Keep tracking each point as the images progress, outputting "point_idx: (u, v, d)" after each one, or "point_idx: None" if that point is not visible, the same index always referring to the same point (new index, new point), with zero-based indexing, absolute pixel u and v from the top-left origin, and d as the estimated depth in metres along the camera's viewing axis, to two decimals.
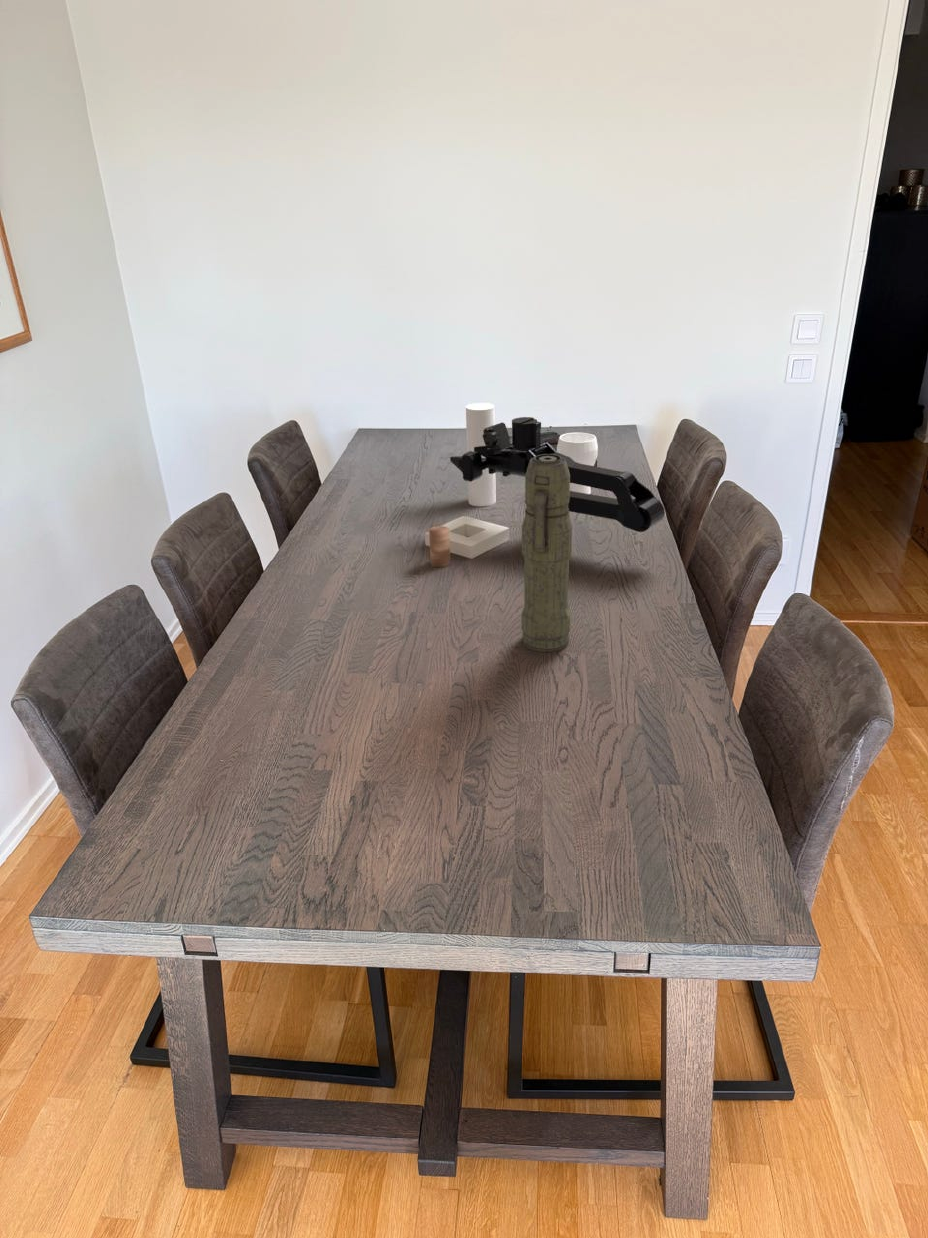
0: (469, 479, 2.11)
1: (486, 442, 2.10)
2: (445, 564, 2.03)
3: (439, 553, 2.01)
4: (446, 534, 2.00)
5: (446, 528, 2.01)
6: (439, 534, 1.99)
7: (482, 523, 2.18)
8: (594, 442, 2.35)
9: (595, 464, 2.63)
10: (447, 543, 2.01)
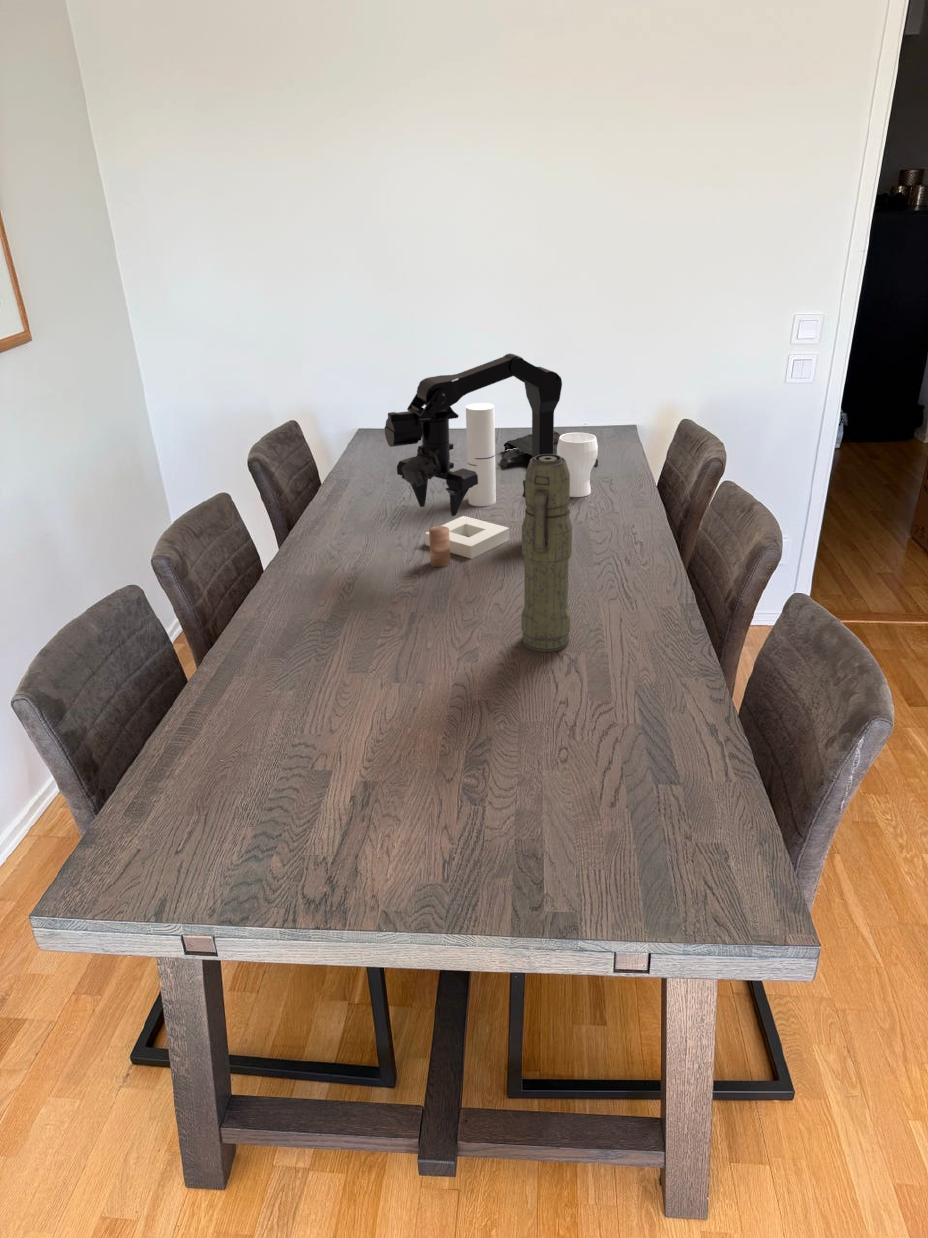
0: (477, 475, 1.91)
1: (434, 472, 1.88)
2: (445, 564, 2.03)
3: (439, 553, 2.01)
4: (446, 534, 2.00)
5: (446, 528, 2.01)
6: (439, 534, 1.99)
7: (482, 523, 2.18)
8: (594, 442, 2.35)
9: (596, 464, 2.63)
10: (447, 543, 2.01)
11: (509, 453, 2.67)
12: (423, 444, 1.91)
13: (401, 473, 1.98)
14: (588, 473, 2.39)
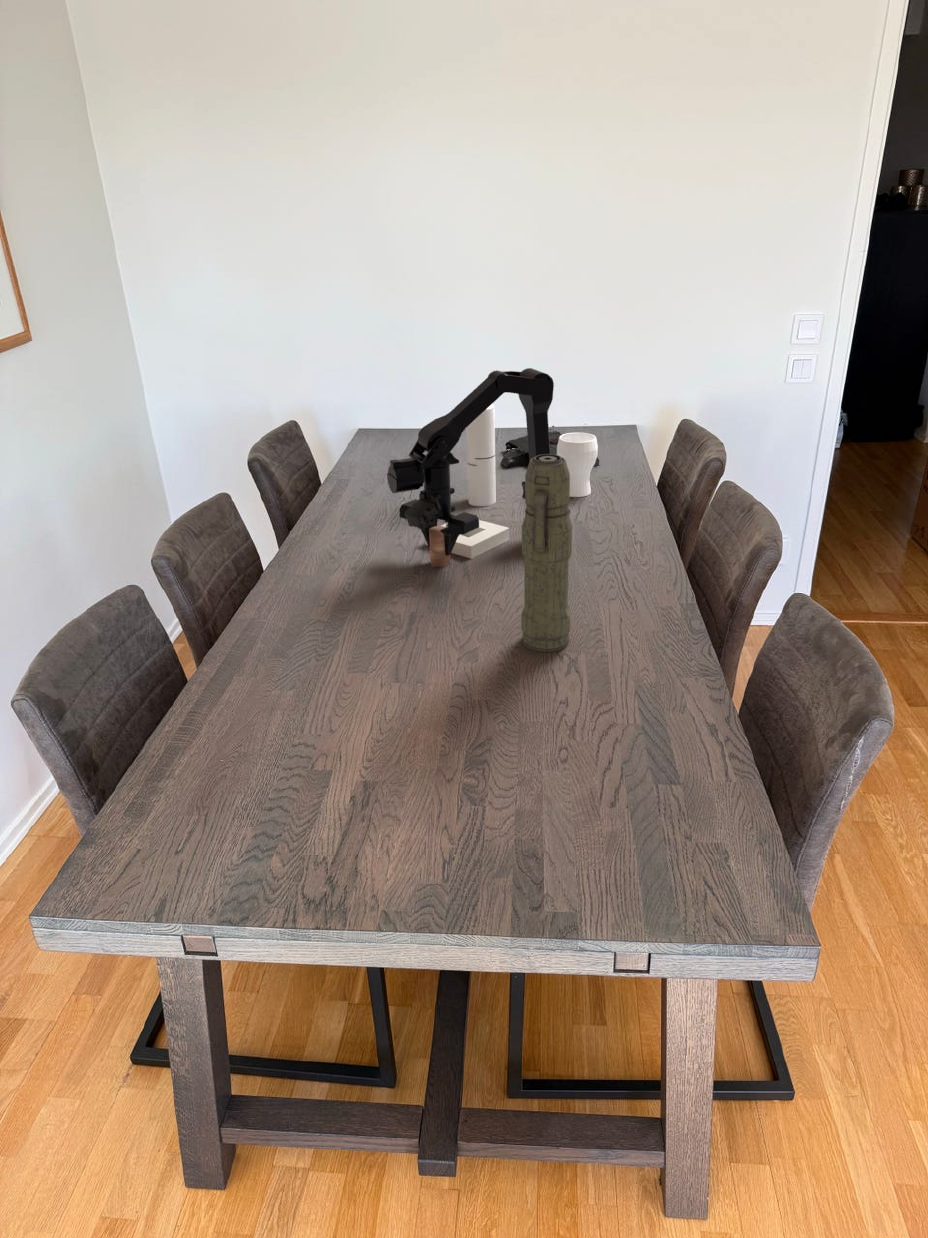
0: (478, 519, 1.96)
1: (436, 517, 1.93)
2: (445, 564, 2.03)
3: (439, 553, 2.01)
4: None
5: None
6: (439, 534, 1.99)
7: (482, 523, 2.18)
8: (594, 442, 2.35)
9: (597, 464, 2.63)
10: None
11: (510, 452, 2.68)
12: (425, 489, 1.95)
13: (403, 516, 2.02)
14: (588, 473, 2.39)
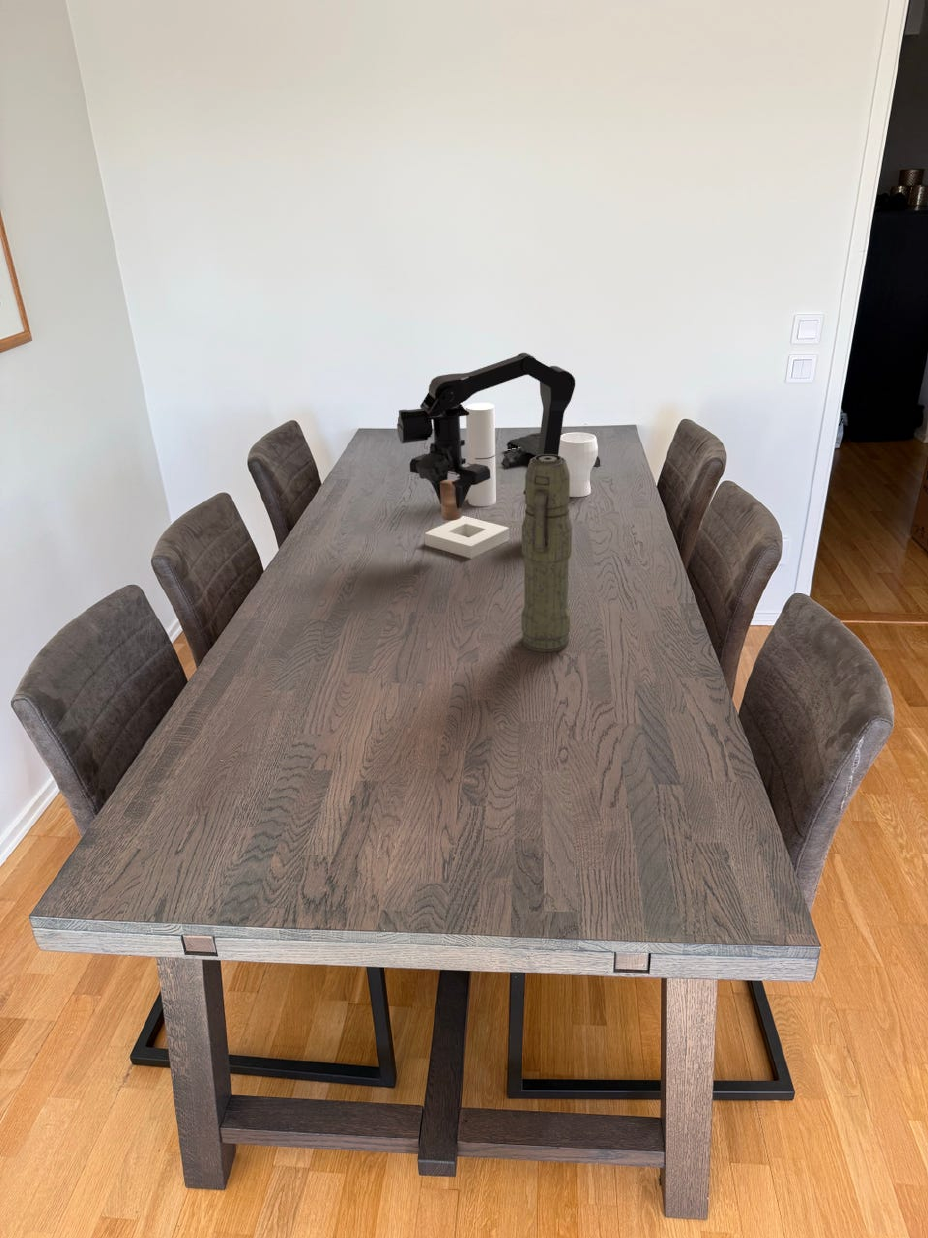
0: (489, 470, 1.96)
1: (448, 468, 1.93)
2: (456, 517, 2.03)
3: (450, 506, 2.01)
4: None
5: None
6: (450, 486, 1.99)
7: (482, 523, 2.18)
8: (594, 442, 2.35)
9: (598, 463, 2.63)
10: None
11: (511, 452, 2.68)
12: (435, 441, 1.96)
13: (414, 470, 2.02)
14: (588, 473, 2.39)
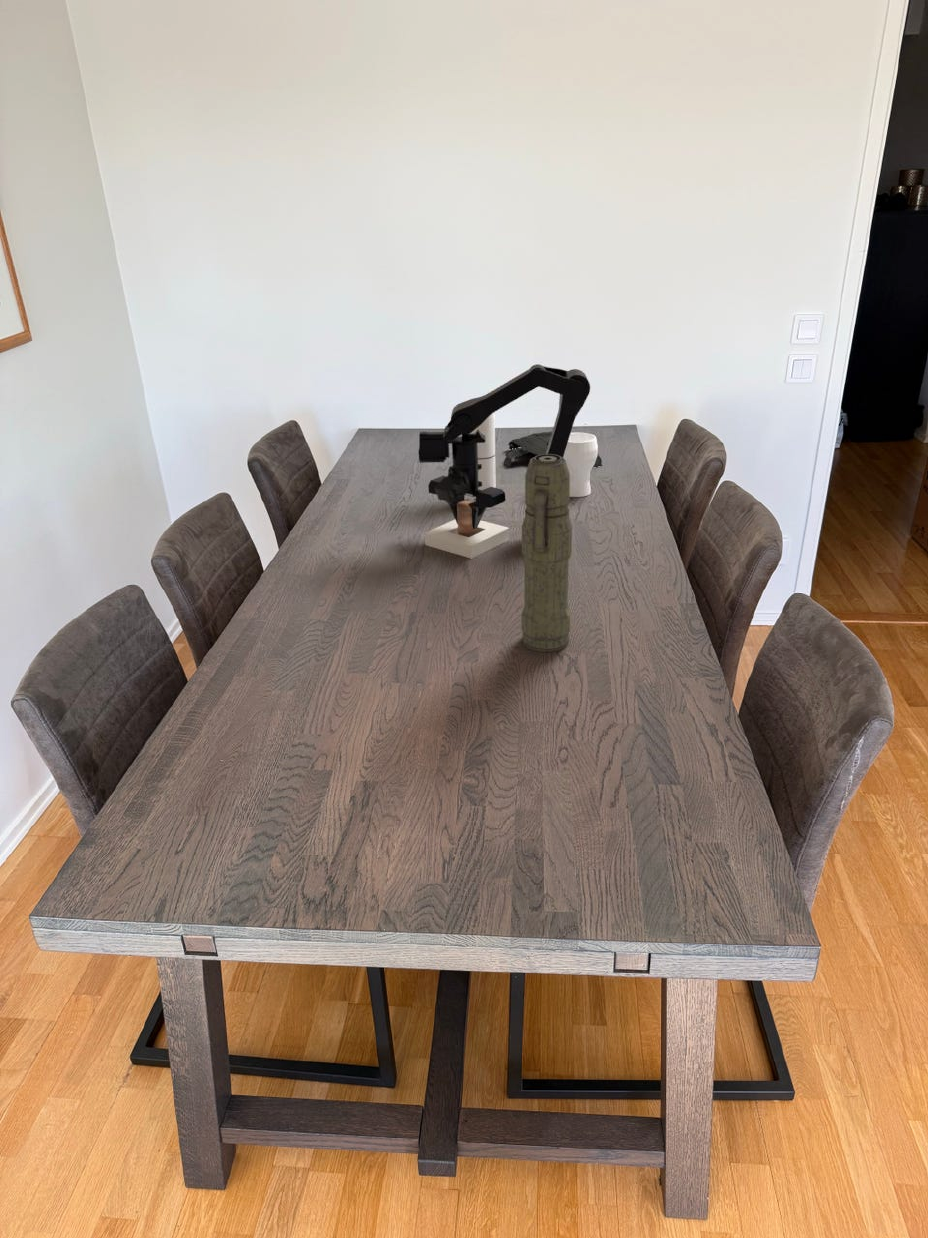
0: (504, 493, 2.05)
1: (465, 491, 2.02)
2: None
3: (466, 527, 2.11)
4: None
5: None
6: (467, 508, 2.09)
7: (482, 523, 2.18)
8: (594, 442, 2.35)
9: (600, 463, 2.63)
10: None
11: (513, 452, 2.68)
12: (454, 465, 2.05)
13: (432, 491, 2.12)
14: (588, 473, 2.39)
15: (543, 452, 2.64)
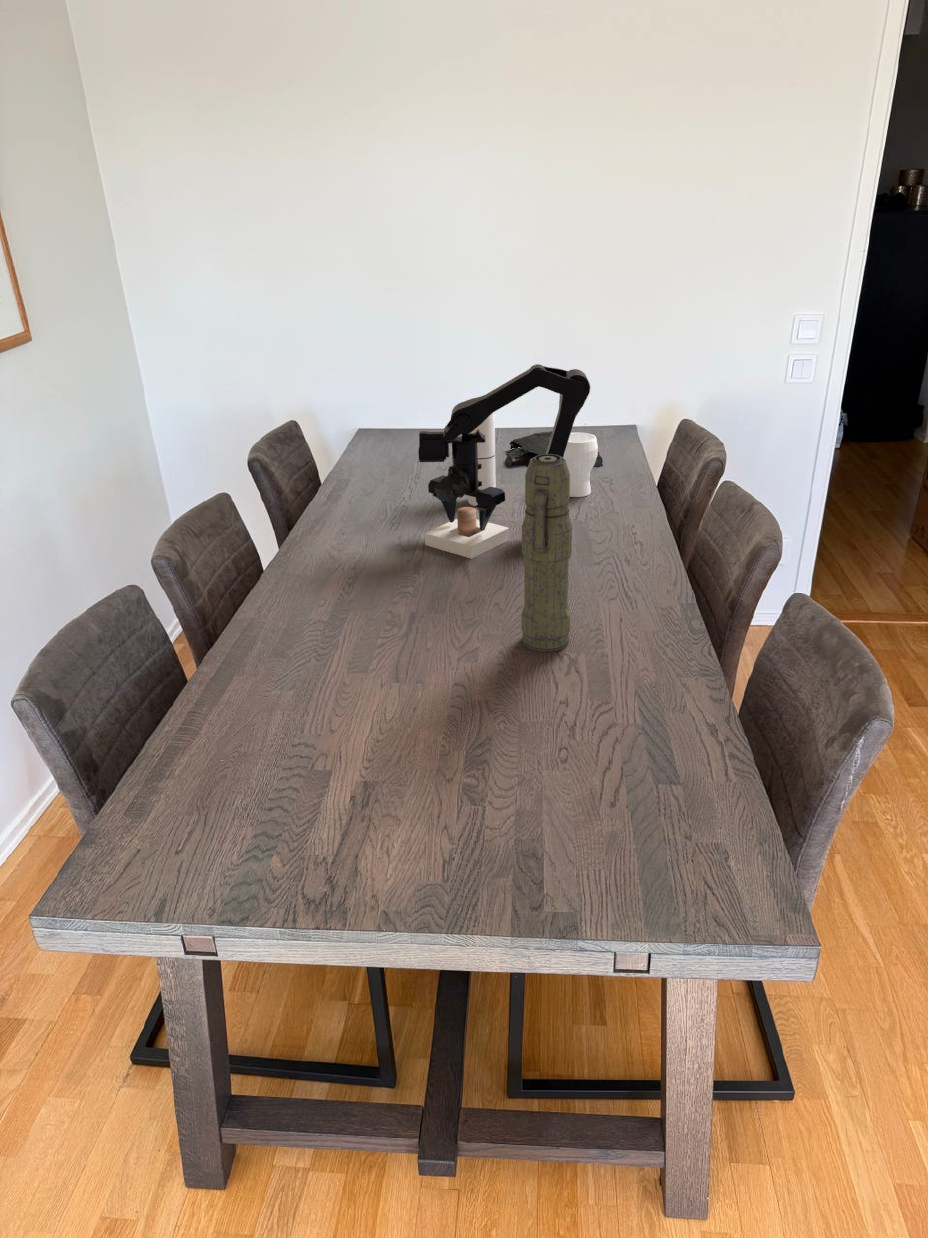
0: (504, 493, 2.05)
1: (465, 491, 2.02)
2: None
3: (466, 533, 2.12)
4: (473, 515, 2.10)
5: (473, 509, 2.12)
6: (467, 514, 2.10)
7: None
8: (594, 442, 2.35)
9: (600, 463, 2.64)
10: (474, 523, 2.12)
11: (514, 452, 2.68)
12: (453, 465, 2.05)
13: (432, 491, 2.12)
14: (588, 473, 2.39)
15: (544, 452, 2.64)
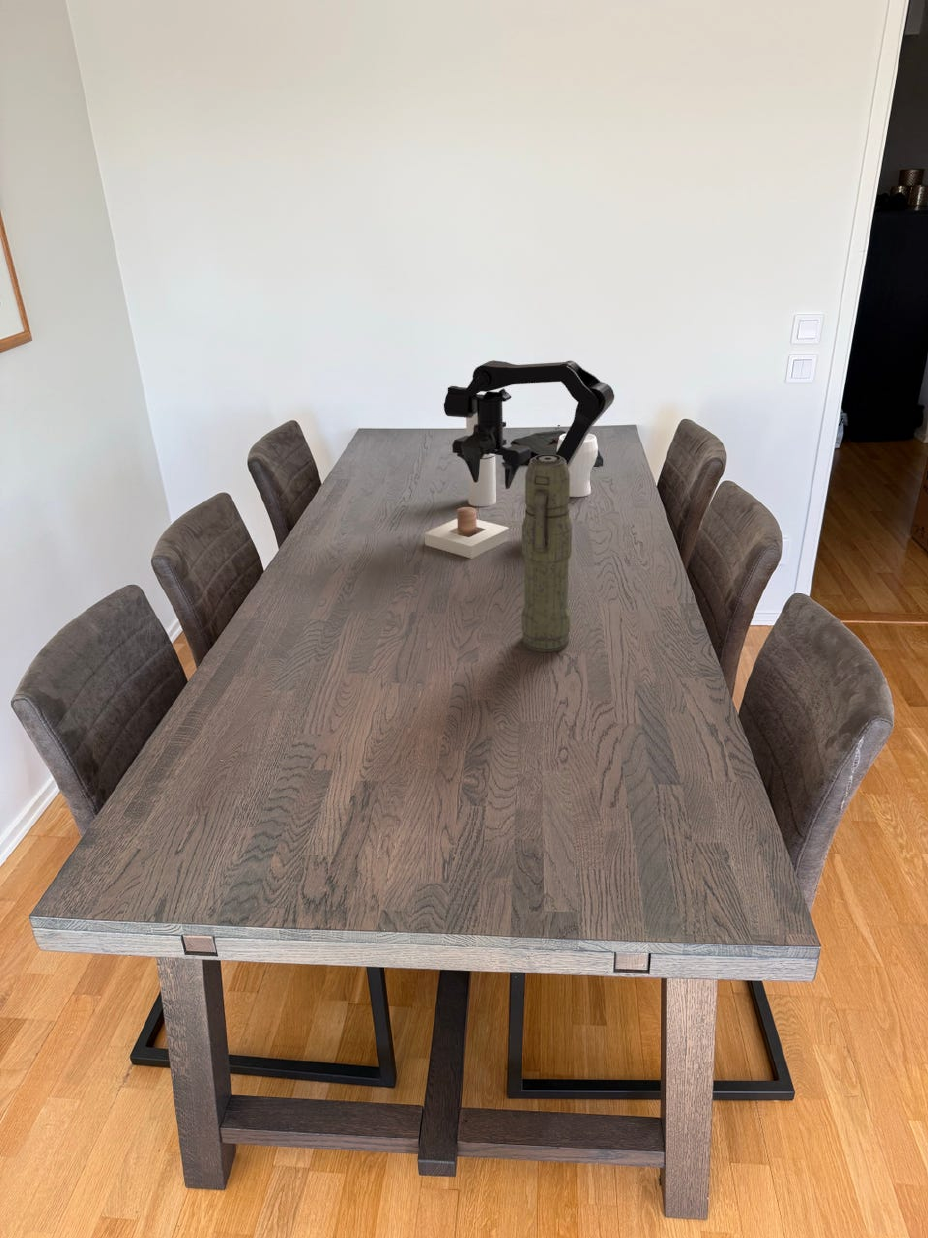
0: (529, 450, 2.07)
1: (492, 448, 2.04)
2: None
3: (466, 533, 2.12)
4: (473, 515, 2.10)
5: (473, 509, 2.12)
6: (467, 514, 2.10)
7: (482, 523, 2.18)
8: (594, 442, 2.35)
9: (601, 463, 2.64)
10: (474, 523, 2.12)
11: None
12: (479, 423, 2.07)
13: (457, 451, 2.13)
14: (588, 473, 2.39)
15: (545, 452, 2.64)
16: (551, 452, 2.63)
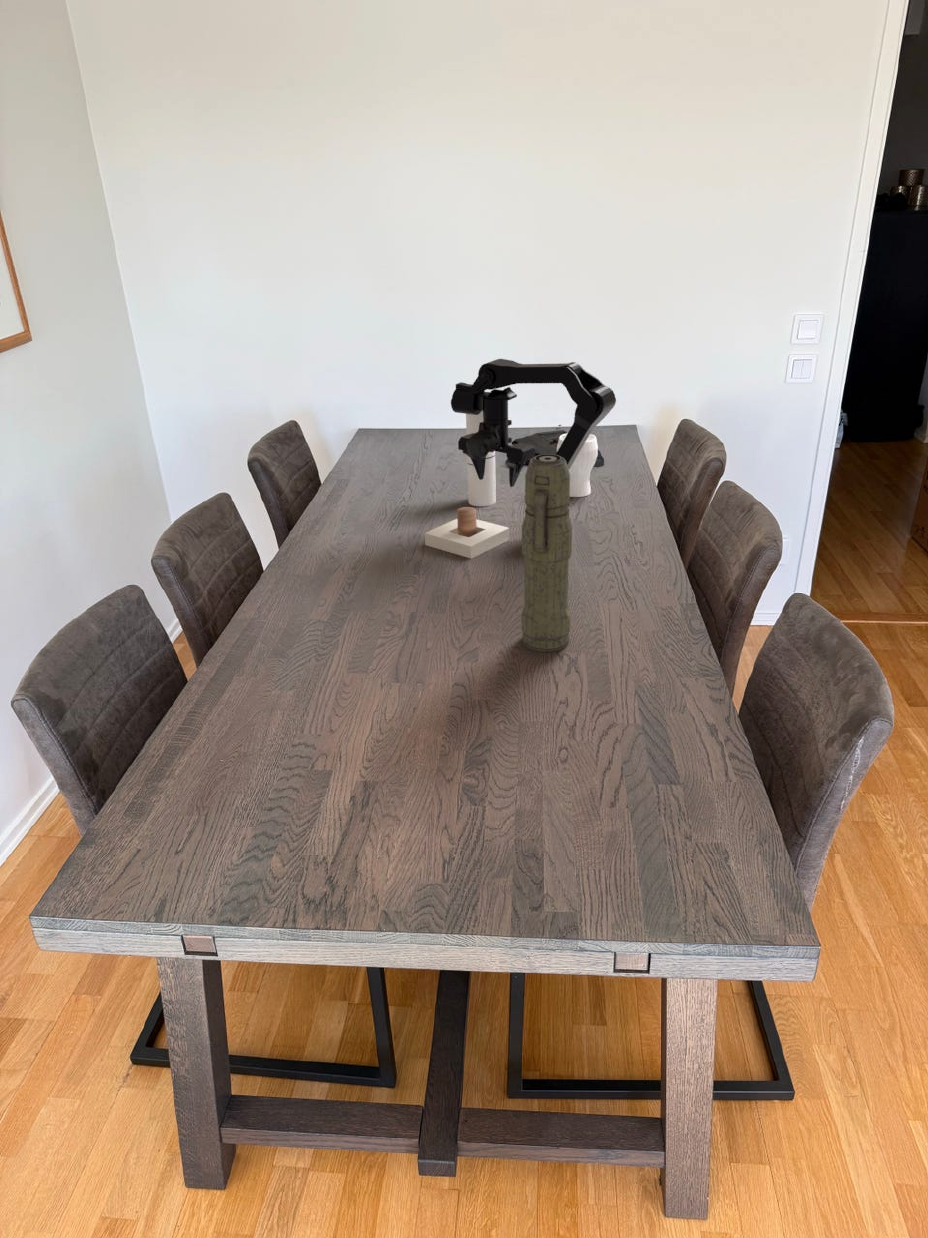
0: (534, 448, 2.08)
1: (496, 446, 2.05)
2: None
3: (466, 533, 2.12)
4: (473, 515, 2.10)
5: (473, 509, 2.12)
6: (467, 514, 2.10)
7: (482, 523, 2.18)
8: (594, 442, 2.35)
9: (602, 463, 2.64)
10: (474, 523, 2.12)
11: None
12: (484, 420, 2.08)
13: (462, 448, 2.15)
14: (588, 473, 2.39)
15: (545, 451, 2.64)
16: (552, 452, 2.63)
